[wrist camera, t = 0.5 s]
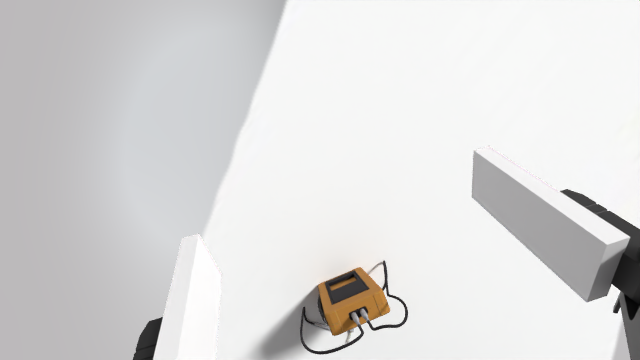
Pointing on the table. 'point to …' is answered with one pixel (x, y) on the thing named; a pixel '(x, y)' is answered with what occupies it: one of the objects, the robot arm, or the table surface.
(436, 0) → the table surface
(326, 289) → the multimeter
